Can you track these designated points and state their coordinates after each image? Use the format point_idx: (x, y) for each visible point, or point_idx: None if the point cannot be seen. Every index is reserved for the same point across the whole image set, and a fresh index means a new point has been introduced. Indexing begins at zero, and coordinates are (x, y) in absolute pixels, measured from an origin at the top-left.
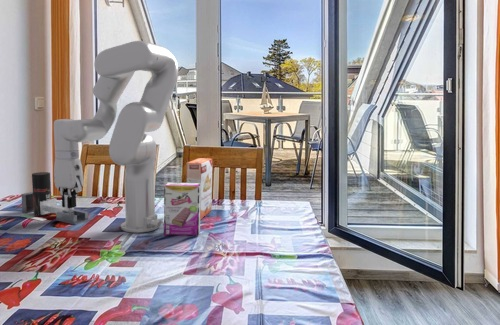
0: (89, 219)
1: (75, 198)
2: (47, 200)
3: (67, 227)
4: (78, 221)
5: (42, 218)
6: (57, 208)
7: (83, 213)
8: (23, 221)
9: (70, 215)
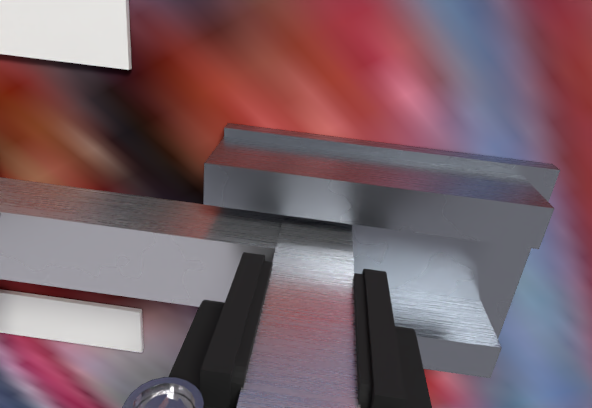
0: (553, 186)
1: (397, 365)
2: None
3: (474, 397)
4: (488, 290)
5: (84, 307)
6: (135, 296)
7: (505, 240)
8: (33, 391)
9: (433, 368)
